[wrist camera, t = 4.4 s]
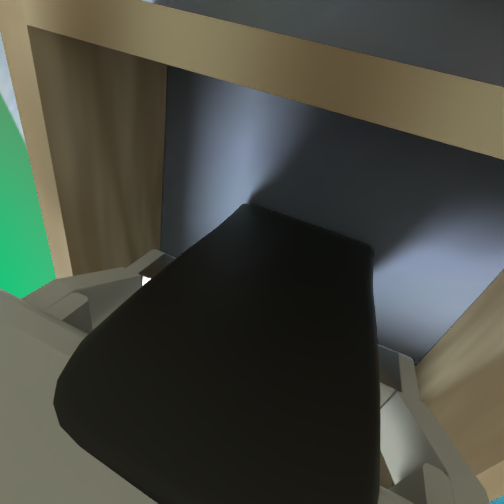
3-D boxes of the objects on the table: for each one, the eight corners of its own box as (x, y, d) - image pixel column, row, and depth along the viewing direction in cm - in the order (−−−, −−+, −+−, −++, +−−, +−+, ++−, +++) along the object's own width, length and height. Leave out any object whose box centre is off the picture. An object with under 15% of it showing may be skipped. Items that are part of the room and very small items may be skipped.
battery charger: (228, 258, 16) (32, 487, 7) (240, 197, 14) (-22, 407, 5) (348, 305, 15) (308, 672, 5) (381, 245, 13) (406, 675, 3)
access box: (664, 146, 8) (1080, 224, 3) (396, 412, 17) (405, 540, 12) (148, 16, 12) (-16, -38, 7) (146, 296, 20) (75, 360, 16)
